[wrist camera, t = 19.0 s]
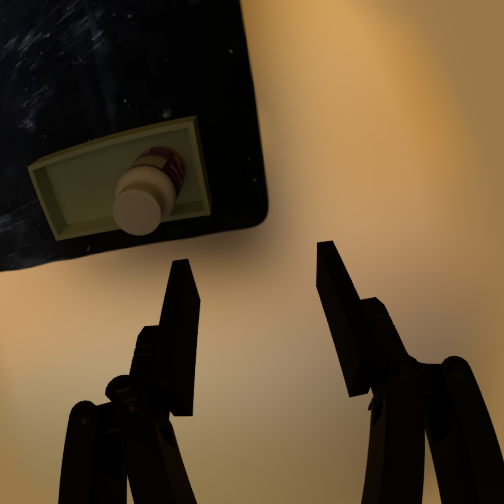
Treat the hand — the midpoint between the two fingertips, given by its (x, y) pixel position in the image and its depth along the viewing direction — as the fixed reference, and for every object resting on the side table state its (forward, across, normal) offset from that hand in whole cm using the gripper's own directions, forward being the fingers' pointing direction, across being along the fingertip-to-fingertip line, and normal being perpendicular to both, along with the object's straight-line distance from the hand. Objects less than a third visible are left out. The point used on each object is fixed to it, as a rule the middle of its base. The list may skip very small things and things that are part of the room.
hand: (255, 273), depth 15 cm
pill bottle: (+19, -8, 0) cm, 20 cm away
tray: (+19, -14, 0) cm, 23 cm away
